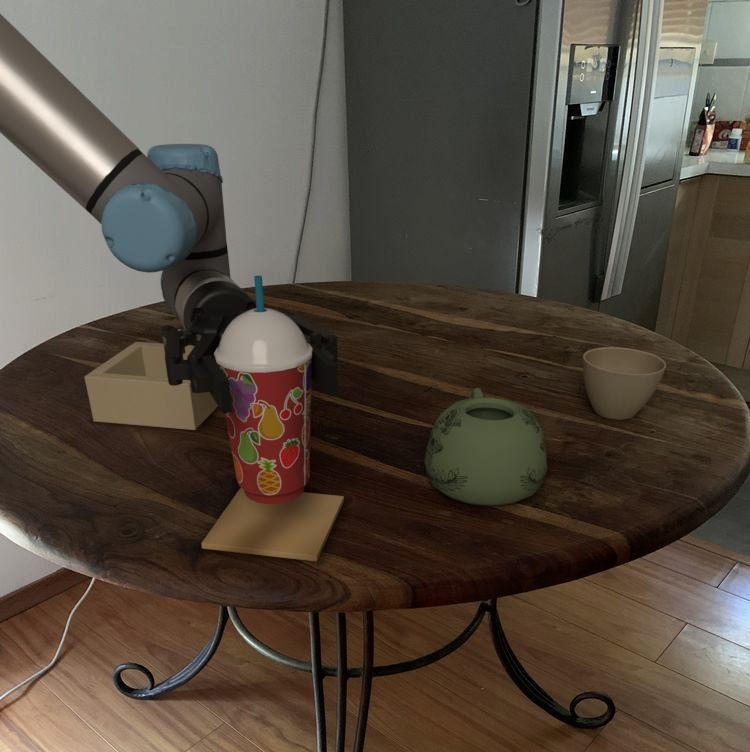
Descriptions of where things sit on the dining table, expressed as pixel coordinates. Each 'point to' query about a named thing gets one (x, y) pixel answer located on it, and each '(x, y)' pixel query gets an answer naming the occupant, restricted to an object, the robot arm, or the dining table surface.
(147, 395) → the square beige tray
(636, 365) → the flower pot
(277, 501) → the smoothie
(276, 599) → the dining table surface
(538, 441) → the green rounded ceramic pot
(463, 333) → the dining table surface
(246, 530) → the cork mat
